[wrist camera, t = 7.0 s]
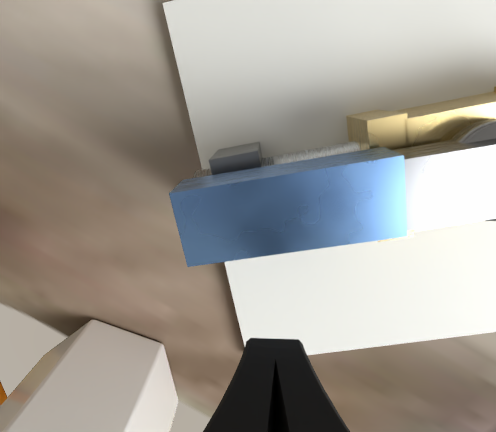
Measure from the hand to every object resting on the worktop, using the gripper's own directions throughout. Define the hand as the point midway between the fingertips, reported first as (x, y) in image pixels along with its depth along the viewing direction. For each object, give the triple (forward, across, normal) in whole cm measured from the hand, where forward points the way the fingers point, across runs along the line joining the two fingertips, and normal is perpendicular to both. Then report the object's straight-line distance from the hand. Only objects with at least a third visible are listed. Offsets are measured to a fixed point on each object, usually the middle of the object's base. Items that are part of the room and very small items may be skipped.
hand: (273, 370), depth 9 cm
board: (+10, -6, -3) cm, 12 cm away
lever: (+6, -3, -4) cm, 7 cm away
